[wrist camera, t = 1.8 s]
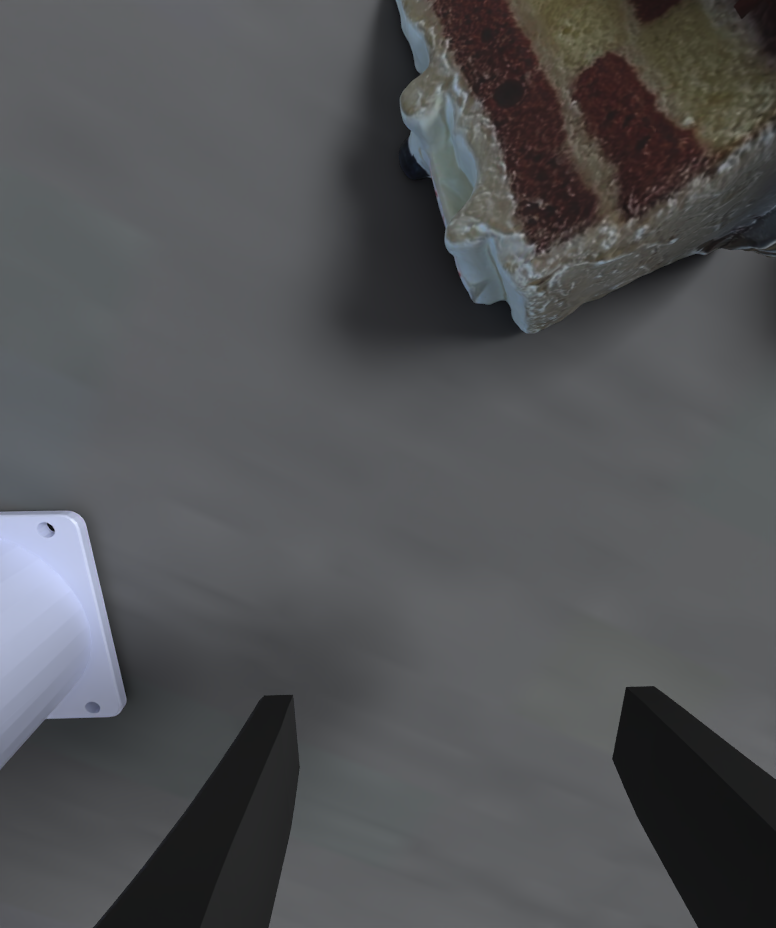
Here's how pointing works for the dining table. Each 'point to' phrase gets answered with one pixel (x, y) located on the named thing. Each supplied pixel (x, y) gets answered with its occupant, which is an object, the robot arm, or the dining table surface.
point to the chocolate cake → (590, 139)
